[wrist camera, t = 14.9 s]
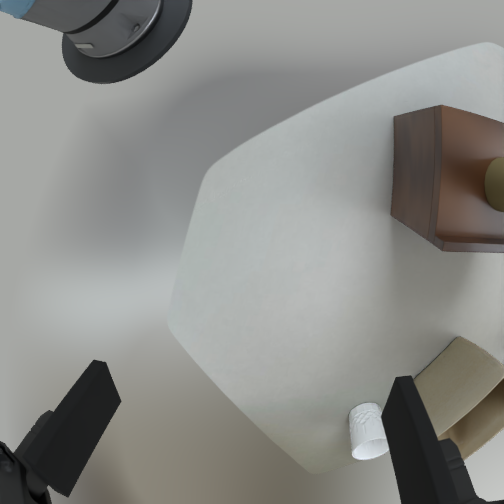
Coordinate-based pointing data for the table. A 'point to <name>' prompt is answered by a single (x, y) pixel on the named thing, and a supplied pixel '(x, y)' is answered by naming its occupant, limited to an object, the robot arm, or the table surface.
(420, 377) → the flower pot
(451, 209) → the miniature wooden nightstand
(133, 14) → the robot arm
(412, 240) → the table surface
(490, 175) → the olive pawn
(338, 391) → the table surface
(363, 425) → the white cup
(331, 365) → the table surface
